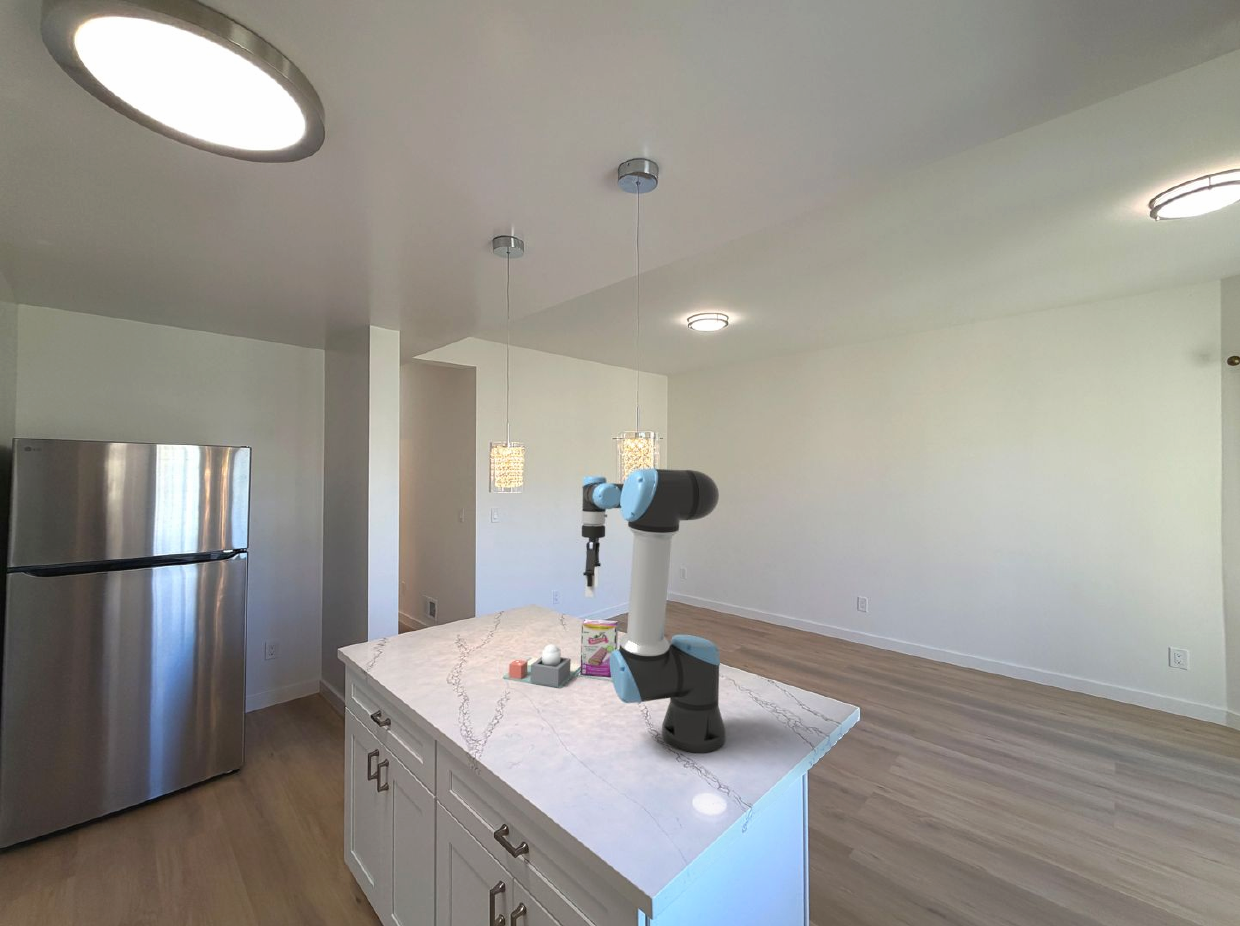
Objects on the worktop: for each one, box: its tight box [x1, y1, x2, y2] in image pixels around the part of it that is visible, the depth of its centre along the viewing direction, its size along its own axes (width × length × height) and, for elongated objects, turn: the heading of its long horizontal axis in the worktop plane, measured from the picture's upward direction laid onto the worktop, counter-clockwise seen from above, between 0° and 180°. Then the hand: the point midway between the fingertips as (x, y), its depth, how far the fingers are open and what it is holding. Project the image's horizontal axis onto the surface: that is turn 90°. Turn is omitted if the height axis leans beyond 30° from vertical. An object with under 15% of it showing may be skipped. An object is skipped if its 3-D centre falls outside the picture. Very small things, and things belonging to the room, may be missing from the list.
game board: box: [502, 656, 581, 689], centre depth 157 cm, size 18×19×6 cm
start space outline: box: [573, 668, 612, 682], centre depth 157 cm, size 8×14×1 cm, turn 72°
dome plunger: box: [541, 643, 562, 667], centre depth 151 cm, size 6×6×6 cm
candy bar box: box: [580, 618, 619, 678], centre depth 157 cm, size 11×5×16 cm, turn 84°
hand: (591, 591), depth 158 cm, fingers open, 13 cm apart
